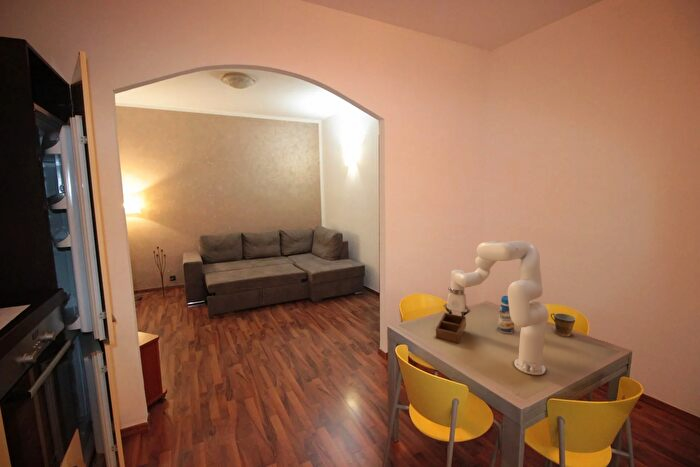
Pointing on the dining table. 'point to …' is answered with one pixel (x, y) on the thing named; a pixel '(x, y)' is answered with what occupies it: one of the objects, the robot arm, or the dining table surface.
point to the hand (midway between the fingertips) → (456, 320)
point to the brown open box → (451, 327)
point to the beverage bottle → (505, 317)
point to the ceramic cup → (563, 323)
